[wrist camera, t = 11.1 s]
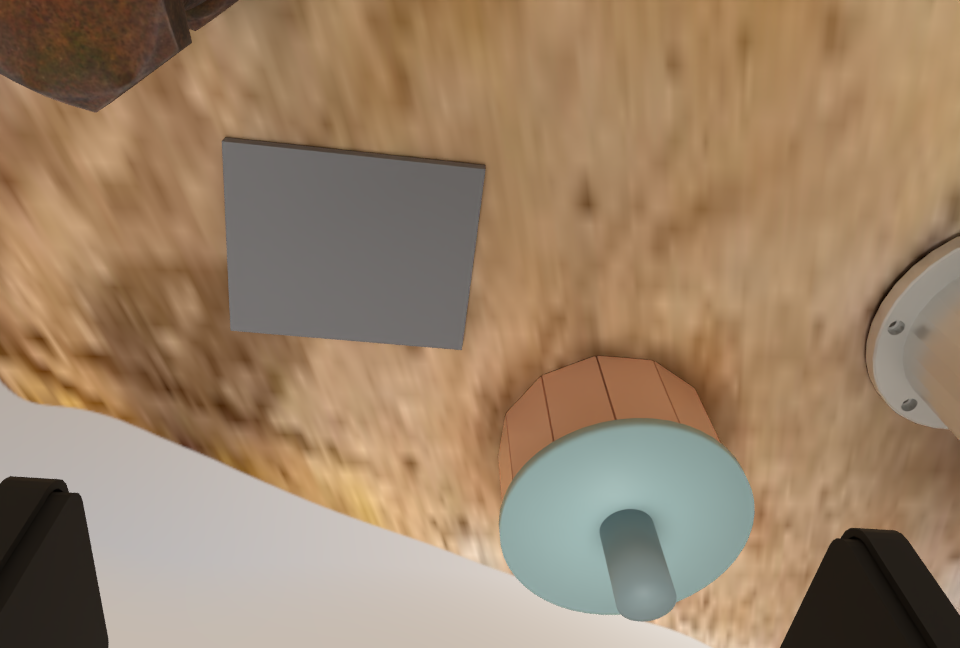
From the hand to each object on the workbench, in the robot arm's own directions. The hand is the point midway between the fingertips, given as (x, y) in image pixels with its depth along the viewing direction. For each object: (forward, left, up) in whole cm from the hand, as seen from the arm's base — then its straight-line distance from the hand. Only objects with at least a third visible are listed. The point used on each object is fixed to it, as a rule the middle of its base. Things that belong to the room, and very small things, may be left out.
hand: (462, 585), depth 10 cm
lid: (-11, +20, -22) cm, 32 cm away
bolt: (+10, -4, -29) cm, 31 cm away
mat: (+4, +9, -28) cm, 30 cm away
